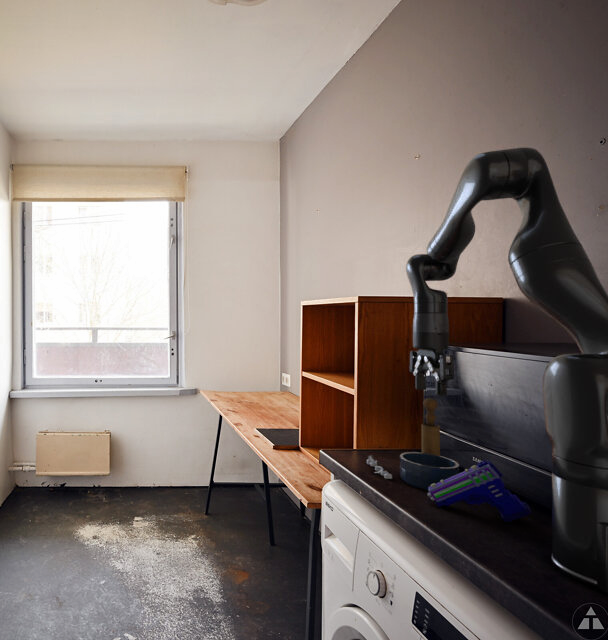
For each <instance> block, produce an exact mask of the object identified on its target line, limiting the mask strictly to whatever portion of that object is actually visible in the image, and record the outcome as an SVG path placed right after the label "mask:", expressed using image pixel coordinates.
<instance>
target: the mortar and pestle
mask: <svg viewBox="0 0 608 640" xmlns="http://www.w3.org/2000/svg"><path fill="white" fill-rule="evenodd" d="M422 405H423V407H424V408H425V410H426V414H425V415H424V416H425V420H426V422H424V423H421V424H420V425H421V453H427V454H433V455H438V456H441V426H440V425H439V424H436V420H437V416H436V415H435V411H436V410H437V408H438V405H439V404H438V401H437V400H436V399H435V398H431V397H427V398H425V399H423V401H422Z"/></svg>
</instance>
